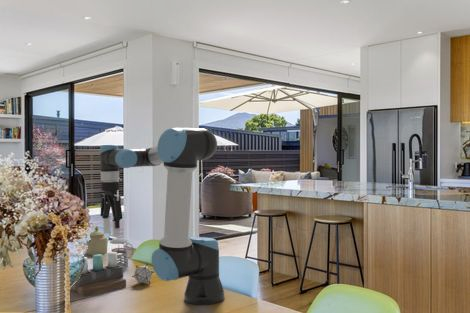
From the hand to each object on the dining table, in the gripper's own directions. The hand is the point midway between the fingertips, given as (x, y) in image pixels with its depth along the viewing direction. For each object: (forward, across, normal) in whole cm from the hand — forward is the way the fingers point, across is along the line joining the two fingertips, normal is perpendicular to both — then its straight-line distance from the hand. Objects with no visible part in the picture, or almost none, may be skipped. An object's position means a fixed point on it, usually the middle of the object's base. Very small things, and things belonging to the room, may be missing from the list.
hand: (111, 234), depth 197 cm
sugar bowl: (+22, +64, -21) cm, 71 cm away
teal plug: (+14, 0, +6) cm, 15 cm away
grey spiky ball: (+22, -8, -10) cm, 25 cm away
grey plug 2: (+14, 0, 0) cm, 14 cm away
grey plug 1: (+14, 0, +13) cm, 19 cm away
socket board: (+21, 0, +6) cm, 22 cm away
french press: (+22, +20, -14) cm, 33 cm away
